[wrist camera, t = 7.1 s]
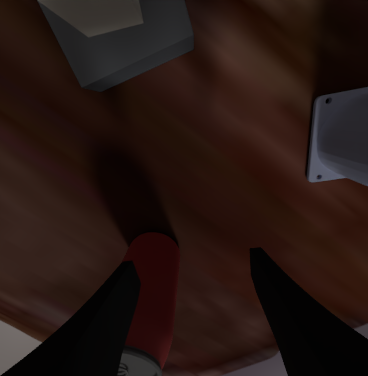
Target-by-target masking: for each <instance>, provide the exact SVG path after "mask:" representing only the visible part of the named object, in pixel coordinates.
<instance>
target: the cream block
mask: <svg viewBox="0 0 368 376" xmlns="http://www.w3.org/2000/svg"><path fill="white" fill-rule="evenodd" d="M37 1H39V2H40V3H42V4H43V5H44V6H46V7H47V8H49V9H50V10H51V11H53V12H54V13H55V14H57V15H58V16H60V17H61V18H62V19H64V20H65V21H66V22H68V23H69V24H71V25H72V26H73V27H75V28H76V29H77V30H79V31H80V32H82V33H83V34H84V35H86V36H87V37H91V36H95V35H99V34H103V33H107V32H111V31H115V30H119V29H123V28H127V27H131V26H134V25H138V24H142V23H144V22H143V17H142V12H141V8H140V3H139V0H37Z"/></svg>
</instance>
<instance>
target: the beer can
mask: <svg viewBox="0 0 368 376" xmlns="http://www.w3.org/2000/svg"><path fill="white" fill-rule="evenodd" d="M131 260H133V263H134V266H135V268H136V271H137V274H138V276H139V279H140V282H141V287H140V293H139V298H138V303H137V306H136V309H135V313H134V316H133V319H132V322H131V326H130V329H129V332H128V335H127V339H126V342H125V345H124V349H123V353H122V357H121V361H120V365H119V370H118V374H117V376H162V368H163V366H164V363H165V361H166V358H167V356H168V353H169V350H170V346H171V343H172V339H173V328H174V317H175V306H176V295H177V284H178V273H179V262H180V251H179V248H178V246H177V244H176V243H175V241H173V240H172V239H171V238H170V237H168V236H166V235H164V234H162V233H157V232H147V233H144V234H141V235H139V236H137V237H136V238H135V239H134V240H133V241H132V243H131V245H130V246H129V249H128V251H127V253H126V255H125V257H124V259H123V261H131ZM123 261H122V262H123Z"/></svg>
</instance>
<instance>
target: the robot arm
mask: <svg viewBox="0 0 368 376" xmlns="http://www.w3.org/2000/svg"><path fill="white" fill-rule="evenodd" d="M327 98H328V99H329V102H328V103H327V104H326V99H327ZM318 175H319V177H318V178H316V177H317V176H318ZM341 178H349V179H352V180H354V181H356V182H359V183H361V184H363V185H366V186H368V87H365V88H360V89H355V90H349V91H344V92H339V93H333V94H328V95H323V96H319V97H317V98H316V99H315V101H314V107H313V117H312V128H311V138H310V148H309V158H308V169H307V180H308V181H310V182H319V181H326V180H333V179H341ZM250 266H251V276H252V280H253V283H254V286H255V290H256V293H257V295H258V298H259V300H260V303H261V305H262V308H263V310H264V312H265V315H266V317H267V320H268V322H269V325H270V327H271V329H272V332H273V334H274V337H275V339H276V342H277V345H278V347H279V350H280V353H281V356H282V359H283V362H284V365H285V368H286V371H287V374H288V376H368V339H367V338H365V337H364V336H362V335H361V334H360V333H358V332H357V331H355V330H354V329H352V328H351V327H350V326H348V325H347V324H345V323H344V322H343V321H341V320H340V319H339V318H338V317H336V316H335V315H334V314H332V313H331V312H330V311H328V310H327V309H326V308H325V307H323V306H322V305H321V304H320V303H318V302H317V301H316V300H315V299H314V298H312V297H311V296H310V295H309V294H308V293H307V292H305V291H304V290H303V289H302V288H301V287H300V286H299V285H298V284H297V283H295V282H294V281H293V280H292V279H291V278H290V277H289V276H288V275H287V274H286V273H285V272H284V271H283V270H282V269H281V268H280V267H279V266H278V265H277V264H276V263H275V262H274V261H273V260H272V259H271V258H270V257H269V256H268V254H267V253H266V252H265V251H264V250H263V249H262V248H261V247H260V248H250ZM140 287H141V282H140V279H139V276H138V274H137V271H136V268H135V266H134V263H133V260H131V261H123V262H122V263H121V264H120V265H119V267H118V268H117V269H116V270H115V271H114V272H113V273H112V275H111V276H110V277H109V278H108V279H107V280H106V281H105V283H104V284H103V285H102V286H101V287H100V288H99V289H98V290H97V291H96V293H95V294H94V295H93V296H92V297H91V298H90V299H89V300H88V301H87V302H86V303H85V304H84V305H83V306H82V307H81V308H80V309H79V310H78V311H77V312H76V313H75V314H74V315H73V316H72V317H71V318H70V319H69V320H68V321H67V322H66V323H65V324H63V325H62V326H61V327H60V328H59V329H58V330H57V331H56V332H55V333H53V334H52V335H51V336H50V337H49V338H47V339H46V340H45V341H44V342H43V343H41V344H40V345H39V346H38V347H37V348H36V349H34V350H33V351H32V352H31V353H29V354H28V355H27V356H26V357H24V358H23V359H22V360H20V361H19V362H18V363H17V364H15V365H14V366H13V367H11V368H10V369H9V370H8V371H6V372H5V373H3V374H2V375H1V376H117V374H118V370H119V365H120V361H121V357H122V353H123V349H124V345H125V342H126V339H127V335H128V332H129V329H130V326H131V322H132V319H133V316H134V313H135V309H136V306H137V303H138V298H139V293H140Z"/></svg>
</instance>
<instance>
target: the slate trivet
mask: <svg viewBox="0 0 368 376" xmlns="http://www.w3.org/2000/svg"><path fill="white" fill-rule="evenodd" d="M38 3H39V5H40V7H41V9H42V11H43V13H44V15H45V17H46V19H47V21H48V23H49V24H50V26H51V28H52V30H53V32H54V34H55V36H56V38H57V40H58V42H59V44H60V46H61V48H62V50H63V52H64V54H65V56H66V58H67V60H68V62H69V64H70V66H71V68H72V70H73V72H74V73H75V75H76V77H77V79H78V81H79V83H80V85H81V87H82V88H85V89H90V90H94V91H98V92H102V91H104V90H106V89H109V88H111V87H113V86H115V85H117V84H119V83H122V82H124V81H126V80H128V79H130V78H133V77H135V76H137V75H139V74H141V73H143V72H146V71H148V70H150V69H152V68H154V67H157V66H159V65H161V64H163V63H165V62H167V61H170V60H172V59H174V58H176V57H178V56H180V55H183V54H185V53H187V52H189V51H191V50H194V34H193V30H192V26H191V23H190V19H189V15H188V12H187V8H186V4H185V1H184V0H139V3H140V8H141V12H142V17H143V22H144V23H142V24H138V25H134V26H131V27H127V28H123V29H119V30H115V31H111V32H107V33H103V34H99V35H95V36H91V37H87V36H86V35H84V34H83V33H82V32H80V31H79V30H77V29H76V28H75V27H73V26H72V25H71V24H69V23H68V22H66V21H65V20H64V19H62V18H61V17H60V16H58V15H57V14H55V13H54V12H53V11H51V10H50V9H49V8H47V7H46V6H44V5H43V4H42V3H40V2H39V1H38Z"/></svg>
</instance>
